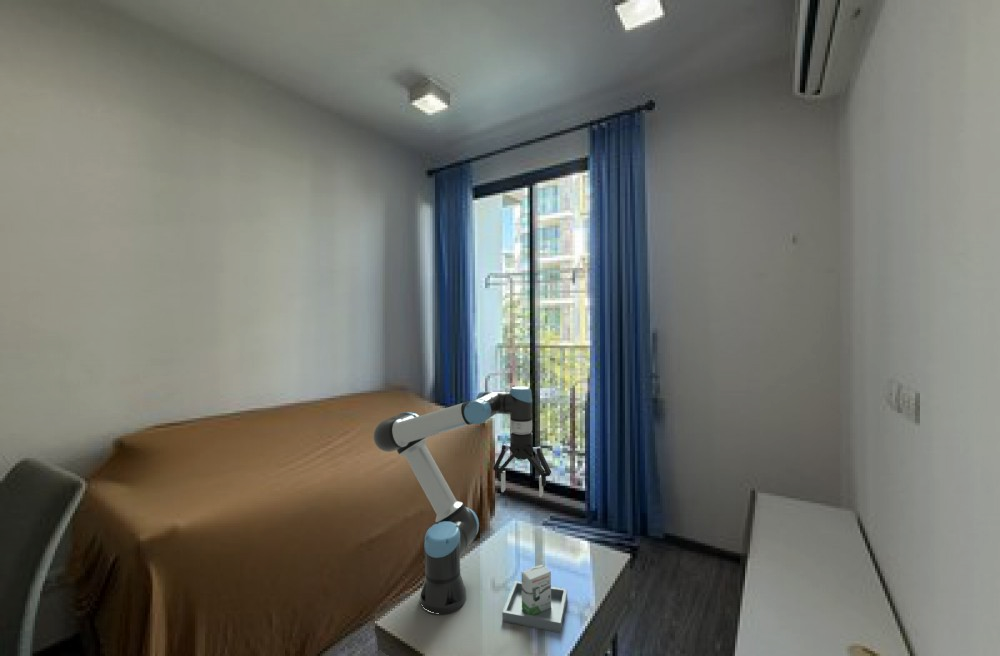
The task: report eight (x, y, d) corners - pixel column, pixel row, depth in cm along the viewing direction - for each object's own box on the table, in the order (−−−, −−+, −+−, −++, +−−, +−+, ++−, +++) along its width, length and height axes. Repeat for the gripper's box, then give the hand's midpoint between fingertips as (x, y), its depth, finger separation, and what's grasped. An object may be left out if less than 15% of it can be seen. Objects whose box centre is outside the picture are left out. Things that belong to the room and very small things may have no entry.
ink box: (530, 617, 126) (529, 579, 126) (521, 608, 130) (520, 571, 130) (552, 607, 131) (551, 570, 131) (542, 598, 135) (542, 563, 135)
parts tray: (502, 621, 125) (502, 612, 125) (514, 589, 141) (514, 580, 141) (560, 633, 120) (560, 622, 120) (567, 598, 136) (567, 589, 136)
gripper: (483, 431, 141) (484, 492, 141) (555, 437, 134) (555, 501, 134) (491, 426, 148) (491, 484, 149) (559, 431, 141) (559, 492, 141)
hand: (522, 492), depth 141 cm, fingers open, 13 cm apart
